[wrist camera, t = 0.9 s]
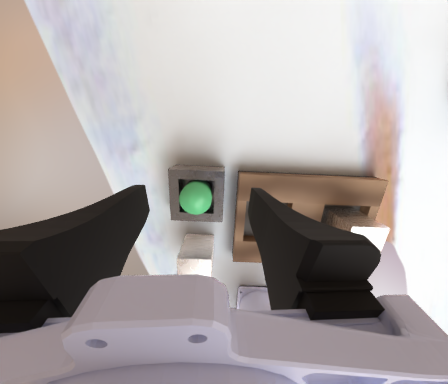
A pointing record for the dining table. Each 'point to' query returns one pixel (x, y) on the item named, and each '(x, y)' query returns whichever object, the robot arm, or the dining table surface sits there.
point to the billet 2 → (356, 224)
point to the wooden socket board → (301, 200)
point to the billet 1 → (196, 255)
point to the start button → (196, 197)
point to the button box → (186, 173)
